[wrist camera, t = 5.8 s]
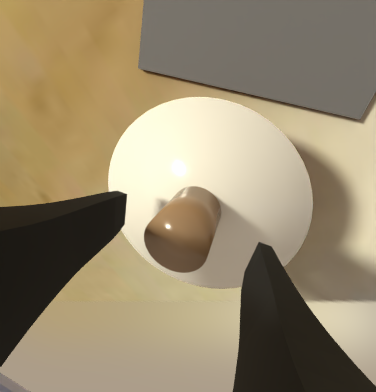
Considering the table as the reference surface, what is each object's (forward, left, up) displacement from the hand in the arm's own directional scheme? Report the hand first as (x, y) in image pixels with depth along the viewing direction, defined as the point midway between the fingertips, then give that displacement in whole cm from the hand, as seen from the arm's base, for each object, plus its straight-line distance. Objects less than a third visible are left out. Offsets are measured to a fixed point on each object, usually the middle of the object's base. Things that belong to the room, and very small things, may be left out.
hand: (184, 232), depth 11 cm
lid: (0, 0, -2) cm, 2 cm away
